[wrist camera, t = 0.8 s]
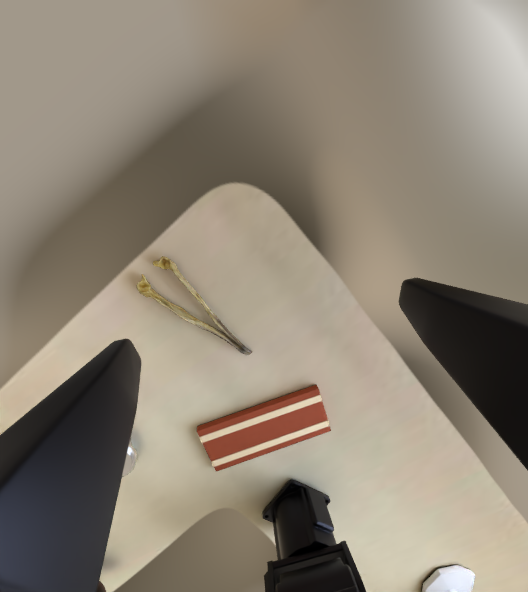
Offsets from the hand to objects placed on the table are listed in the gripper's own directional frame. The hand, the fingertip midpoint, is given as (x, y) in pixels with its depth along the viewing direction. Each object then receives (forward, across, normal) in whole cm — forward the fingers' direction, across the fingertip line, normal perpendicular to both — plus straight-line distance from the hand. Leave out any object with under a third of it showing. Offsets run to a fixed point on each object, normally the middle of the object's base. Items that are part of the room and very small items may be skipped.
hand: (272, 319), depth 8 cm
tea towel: (+10, +2, +23) cm, 25 cm away
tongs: (+15, +5, +9) cm, 18 cm away
